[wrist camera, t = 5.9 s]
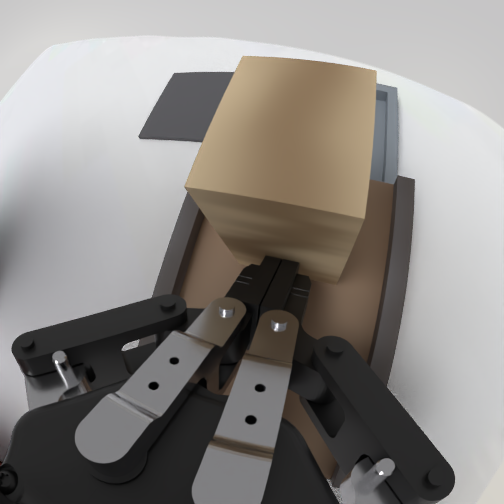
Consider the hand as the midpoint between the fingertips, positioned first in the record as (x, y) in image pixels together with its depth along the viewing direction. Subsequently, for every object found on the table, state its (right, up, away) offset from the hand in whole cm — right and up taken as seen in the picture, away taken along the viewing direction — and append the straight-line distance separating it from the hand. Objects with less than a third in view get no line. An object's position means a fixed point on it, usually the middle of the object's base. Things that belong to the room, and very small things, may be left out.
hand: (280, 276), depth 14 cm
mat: (-6, +13, +11) cm, 18 cm away
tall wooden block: (+1, +3, +3) cm, 4 cm away
